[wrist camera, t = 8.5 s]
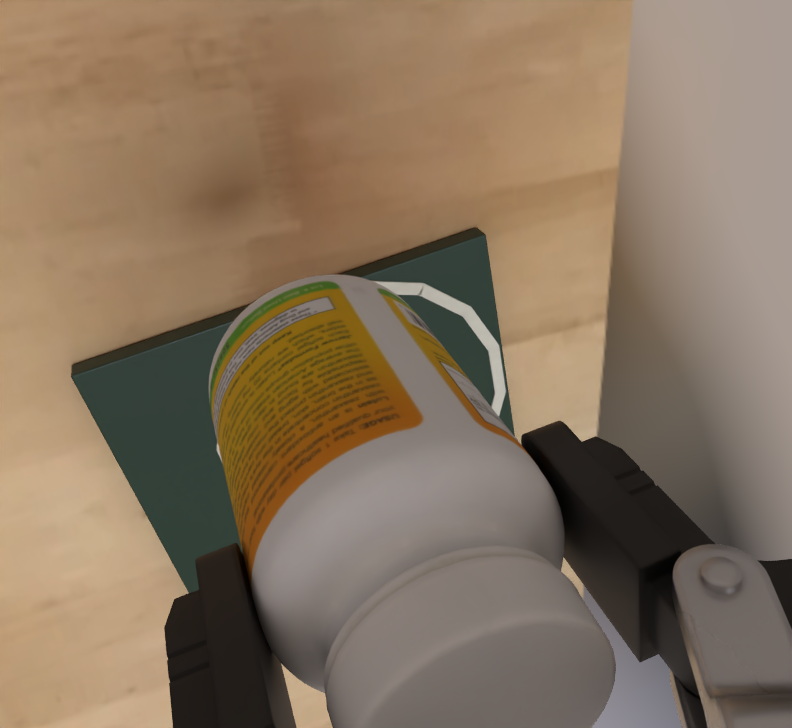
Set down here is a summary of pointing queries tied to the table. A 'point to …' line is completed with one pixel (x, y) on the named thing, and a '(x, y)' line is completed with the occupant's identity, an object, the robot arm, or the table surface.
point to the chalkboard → (190, 408)
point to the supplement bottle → (396, 522)
